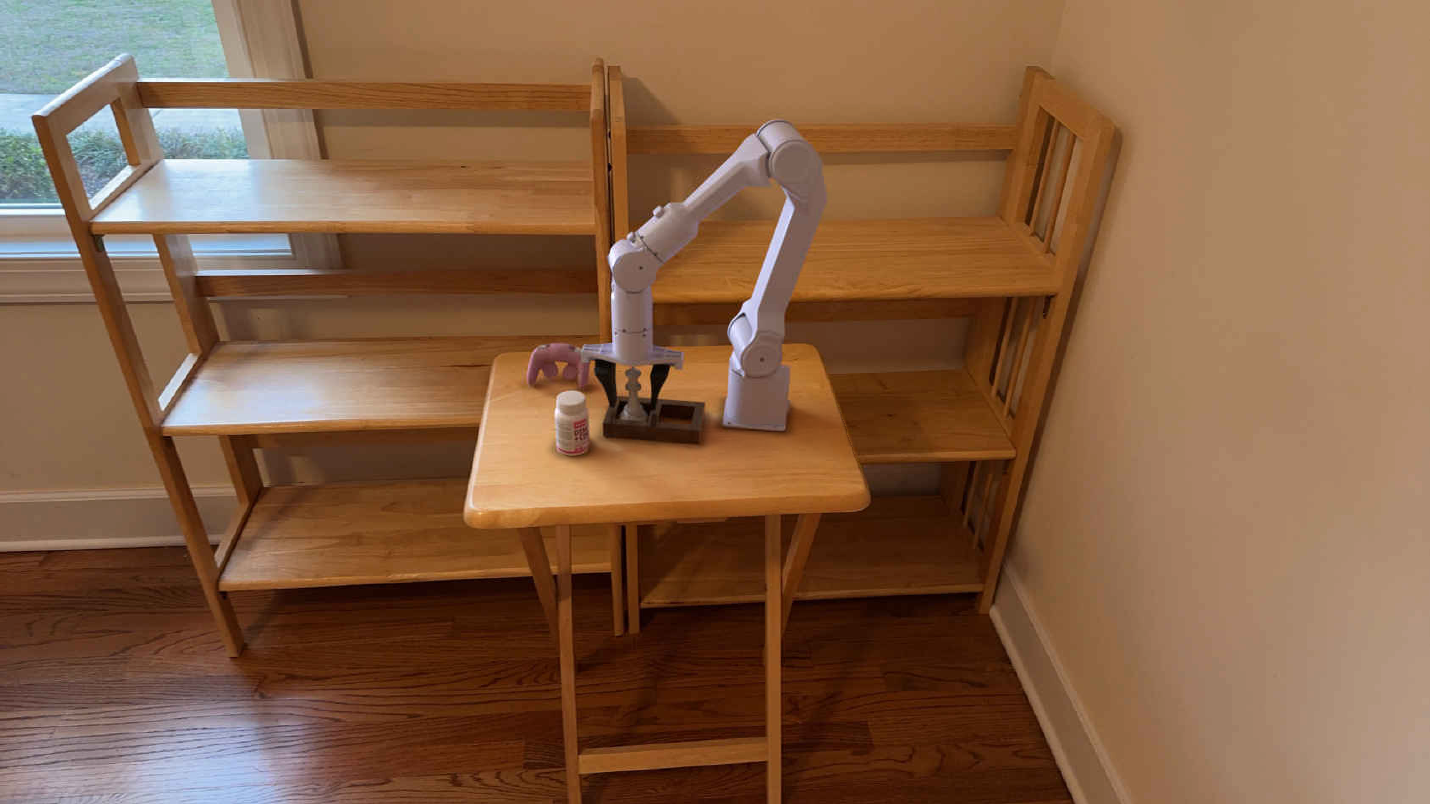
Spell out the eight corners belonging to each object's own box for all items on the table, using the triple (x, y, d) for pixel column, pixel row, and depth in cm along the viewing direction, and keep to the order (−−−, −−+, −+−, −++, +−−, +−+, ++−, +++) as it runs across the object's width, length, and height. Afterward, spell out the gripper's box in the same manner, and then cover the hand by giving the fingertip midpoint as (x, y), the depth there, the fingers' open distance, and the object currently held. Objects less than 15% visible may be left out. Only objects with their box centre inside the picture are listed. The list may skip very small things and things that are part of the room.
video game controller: (591, 388, 155) (594, 345, 154) (585, 390, 150) (588, 346, 149) (531, 383, 155) (533, 340, 155) (523, 385, 151) (526, 341, 150)
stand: (704, 416, 146) (705, 402, 145) (699, 444, 139) (699, 430, 138) (612, 408, 147) (612, 395, 146) (603, 437, 140) (602, 423, 139)
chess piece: (648, 432, 142) (648, 374, 136) (619, 433, 141) (617, 374, 136) (648, 416, 145) (647, 359, 140) (618, 417, 145) (617, 359, 140)
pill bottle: (580, 459, 135) (578, 409, 131) (550, 452, 137) (547, 402, 132) (595, 442, 139) (593, 393, 135) (566, 435, 140) (563, 386, 136)
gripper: (686, 314, 137) (685, 395, 144) (587, 307, 138) (590, 387, 145) (680, 337, 131) (679, 420, 139) (576, 330, 132) (580, 412, 139)
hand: (633, 405), depth 142 cm, fingers open, 5 cm apart
